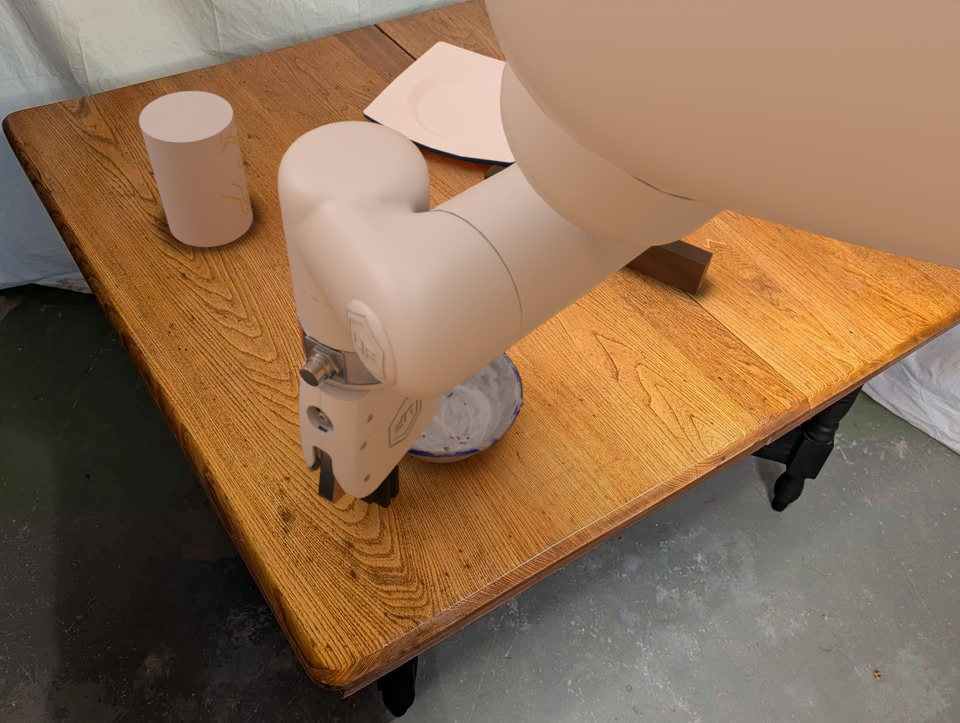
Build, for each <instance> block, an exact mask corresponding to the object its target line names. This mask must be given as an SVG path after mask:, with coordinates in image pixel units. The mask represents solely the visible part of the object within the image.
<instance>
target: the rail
mask: <svg viewBox="0 0 960 723" xmlns="http://www.w3.org/2000/svg"><path fill="white" fill-rule="evenodd" d="M504 169H505V167H499V166H496V165H493V166H492V165H491V167H490V168H489V169H488V170H487V171H486V172H485V173H484V176H483V181H484V180H486V179H488V178H490V177H491V176H493V175H495V174H497V173H499V172H501V171H503V170H504ZM713 255H714V253H713V252H710V251H708V250H706V249H703V248H701V247H698V246H696V245H694V244H691V243H689V242H687V241H683V240H682V239H680V240H677V241H674V242H671V243H668V244H663V245H656V246H651V247H649V248H648V249H647V250H645V251H644V252H643V253H641V254H640V255H639V256H637V257H636V258H634V259H633V260H632V261H630V262H629V263H628V264H626V265H625V266H624V267H627V268H630V269H631V270H633V271H637V272H639V273H641V274H643V275H646V276H648V277H650V278H653V279H655V280H658V281H660V282H663V283H664V284H667V285H670V286H671V287H674V288H677V289H679V290H681V291H684V292H686V293H688V294H691V295H693V296H697V294H698V293H699V291H700V289H701V287H702V286H703V284H704V281H705V279H706V275H707V273H708V270H709V267H710V264H711V261H712V258H713Z"/></svg>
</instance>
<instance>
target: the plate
mask: <svg viewBox="0 0 960 723" xmlns="http://www.w3.org/2000/svg"><path fill="white" fill-rule="evenodd" d="M505 63H506V61H503V60H500V59H497V58H494V57H491V56H487V55H483V54H481V53H478V52H475V51H472V50H469V49H466V48H463V47H461V46H457V45H454V44H451V43H448V42H445V41H437V42H436V43H435V44H434V45H433V46H431V47H430V48H429V49H428V50H427V51H425V53H422V55H421V56H420V57H418V58H417V59H416V60H415V61H414V62H413V63H411V64H410V65H409V66H408V67H407V68H405V70H404V71H403V72H401V73H400V74H399V75H398V76H396V78H394V79H393V81H391V83H389V84H388V85H387V86H386V87H385V88H384V90H382V91H381V92H380V93H379V94H378V95H377V97H375V98H374V99H373V101H371V102H370V104H368V106H366V108H364V109H363V111H362V115H363V117H364V118H365V119H366V120H368V122H371V123H376V124H380V125H383V126H386V127H389V128H391V129H394V130H396V131H398V132H400V133H401V134H403V135H405V136H406V137H407V138H408V139H410V140H411V141H412V142H413V143H414V144H415V145H416V146H417V148H420V149H423V150H426V151H429V152H431V153H435V154H438V155H441V156H444V157H448V158H451V159H454V160H457V161H460V162H467V163H473V164H479V165H486V166H491V167H492V166H493V165H496V166H499V167H501V168H508V167H509V166H511V165H512V164H514V163H515V162H516V161H515V159H514V157H513V155H512V153H511V150H510V148H509V145H508V142H507V139H506V136H505V133H504V130H503V125H502V119H501V113H500V90H501V80H502V74H503V69H504V66H505Z"/></svg>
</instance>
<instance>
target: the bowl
mask: <svg viewBox="0 0 960 723" xmlns="http://www.w3.org/2000/svg"><path fill="white" fill-rule="evenodd" d="M523 396H524V388H523V381H522V377H521V375H520V372H519V370H518V367H517V366H516V365H515V364H514V362H513V360H512V359H511V358H510V357H509V356H508V354H507V353H506V352H504V353H503V354H501V355H500V356H499V357H497V358H496V359H494V360H493V361H491V362H490V363H489V364H487V365H486V366H484V367H483V368H481V369H480V370H479V371H477V372H476V373H474V374H473V375H471V376H470V377H469V378H467V379H466V380H464V381H463V382H461V383H460V384H459V385H457V386H456V387H454V388H453V389H451V390H449V391H447V392H446V393H444V394H442V395H440V405H439V408H438V410H437V412H436V414H435V415H434V417H433V419H432V420H431V421H430V423H429V424H428V425H427V427H426V428H425V429H424V431H423V432H422V433H421V435H420V436H419V437H418V438H417V440H416V441H415V442H414V443H413V445H412V446H411V447H410V448H409V450H408V451H407V452H406V453H405V454H408V455H410V456H411V457H414V458H416V459H418V460H422V461H424V462H428V463H437V464H448V463H455V462H458V461H463V460H465V459H467V458H469V457H474V456H475V455H476V454H478V453H483V452H485V451H486V450H487V449H488V448H491V447H494V446H496V444H498V443H500V442H501V441H502V440H503V438H504V436H506V434H507V433H508V432H509V431H510V430H511V428H512V427H513V425H514V424H515V422H516V420H517V418H518V416H519V414H520V411H521V408H522V407H524V405H525V403H524V400H523Z"/></svg>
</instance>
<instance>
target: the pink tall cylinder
mask: <svg viewBox="0 0 960 723" xmlns="http://www.w3.org/2000/svg"><path fill="white" fill-rule="evenodd" d="M138 123H139V127H140V131H141V135H142V137H143V141H144V144H145V148H146V151H147V155H148V158H149V162H150V165H151V168H152V172H153V176H154V179H155V183H156V186H157V189H158V193H159V196H160V200H161V204H162V207H163V211H164V213H165V217H166V220H167V225H168V228H169V231H170V233H171V234H172V236H173V237H174V238H175V239H176V240H178V241H179V242H181V243H183V244H185V245H188V246H192V247H197V248H213V247H218V246H223V245H226V244H230V243H232V242H234V241H236V240H238V239H240V238H241V237H242V236H243V235H245V234H246V232H248V230H249V229H250V228H251V225H252V223H253V219H254V215H253V210H252V209H253V208H252V204H251V199H250V194H249V189H248V185H247V179H246V173H245V167H244V163H243V157H242V152H241V146H240V140H239V136H238V131H237V126H236V121H235V115H234V110H233V107H232V106H231V103H229V101H227V99H225V98H224V97H222V96H220V95H217V94H214V93H211V92H207V91H203V90H202V91H201V90H186V91H185V90H184V91H177V92H171V93H169V94H166V95H162V96H160V97H157V98H156V99H153V100H152V101H151V102H149V103H148V104H147V105H146V106H145V107H144V108H143V109H142V111H141V112H140V114H139V117H138Z"/></svg>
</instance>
